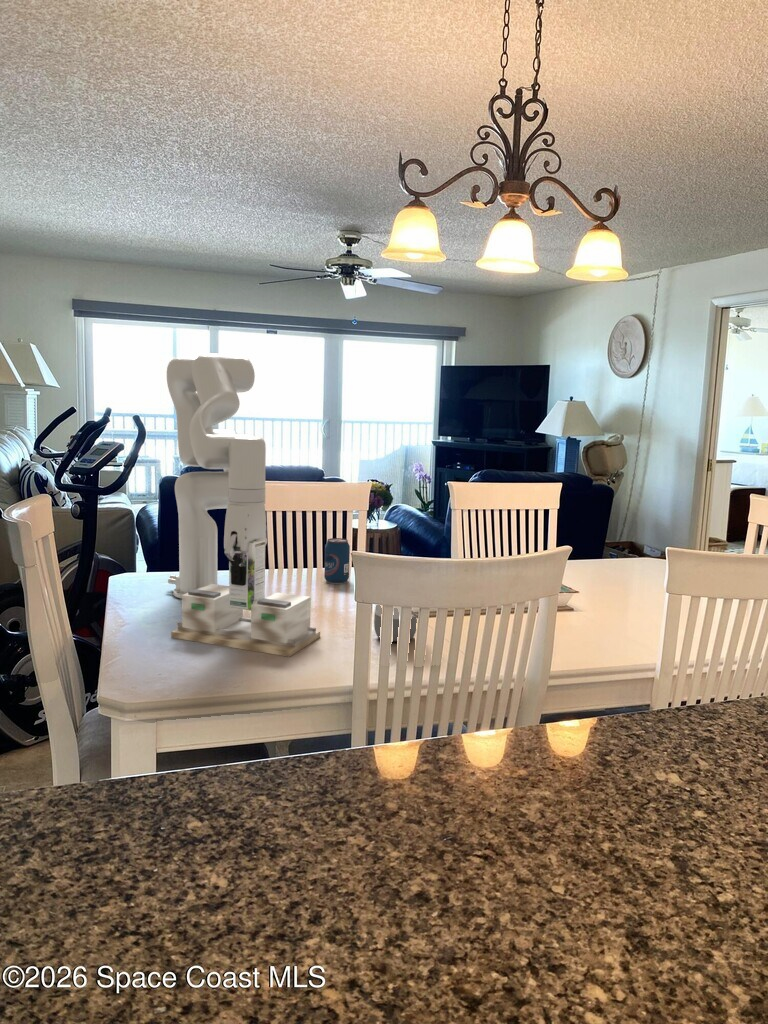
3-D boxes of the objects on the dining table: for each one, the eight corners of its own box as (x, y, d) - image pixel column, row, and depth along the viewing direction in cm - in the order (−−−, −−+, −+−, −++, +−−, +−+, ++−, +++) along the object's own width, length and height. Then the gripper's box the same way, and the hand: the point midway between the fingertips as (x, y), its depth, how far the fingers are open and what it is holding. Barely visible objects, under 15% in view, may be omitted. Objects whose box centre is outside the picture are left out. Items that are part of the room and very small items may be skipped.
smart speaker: (422, 644, 156) (425, 579, 154) (380, 646, 153) (382, 581, 151) (408, 630, 165) (410, 569, 163) (368, 633, 162) (370, 571, 160)
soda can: (319, 581, 207) (320, 539, 206) (334, 577, 213) (335, 536, 211) (338, 585, 203) (339, 543, 202) (353, 581, 209) (354, 539, 207)
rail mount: (171, 637, 155) (170, 593, 154) (208, 620, 168) (208, 579, 167) (289, 656, 146) (290, 609, 144) (320, 636, 159) (321, 593, 157)
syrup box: (227, 608, 154) (227, 539, 152) (242, 601, 160) (242, 535, 158) (251, 611, 152) (252, 542, 150) (265, 604, 158) (266, 537, 156)
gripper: (252, 491, 162) (252, 571, 164) (207, 499, 146) (208, 588, 148) (282, 493, 159) (282, 575, 162) (240, 502, 143) (240, 592, 146)
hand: (246, 580), depth 155 cm, fingers closed on syrup box, 5 cm apart
